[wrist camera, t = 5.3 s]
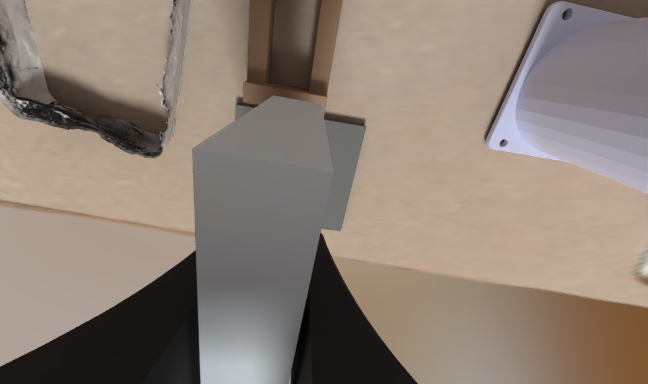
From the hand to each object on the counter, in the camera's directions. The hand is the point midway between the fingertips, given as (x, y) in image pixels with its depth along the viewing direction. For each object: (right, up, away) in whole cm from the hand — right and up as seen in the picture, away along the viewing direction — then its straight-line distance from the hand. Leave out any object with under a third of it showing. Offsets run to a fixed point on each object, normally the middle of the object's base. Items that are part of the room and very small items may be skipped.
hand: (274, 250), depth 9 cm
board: (0, +1, +3) cm, 3 cm away
